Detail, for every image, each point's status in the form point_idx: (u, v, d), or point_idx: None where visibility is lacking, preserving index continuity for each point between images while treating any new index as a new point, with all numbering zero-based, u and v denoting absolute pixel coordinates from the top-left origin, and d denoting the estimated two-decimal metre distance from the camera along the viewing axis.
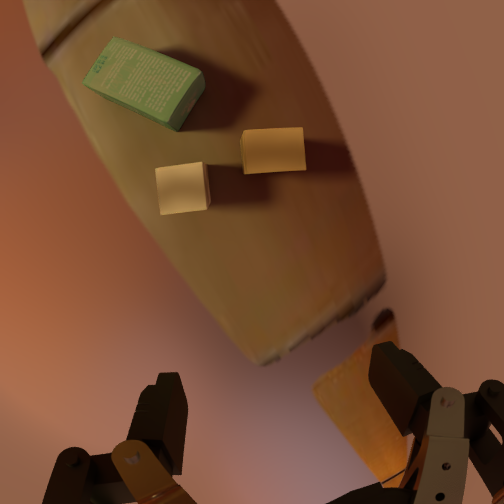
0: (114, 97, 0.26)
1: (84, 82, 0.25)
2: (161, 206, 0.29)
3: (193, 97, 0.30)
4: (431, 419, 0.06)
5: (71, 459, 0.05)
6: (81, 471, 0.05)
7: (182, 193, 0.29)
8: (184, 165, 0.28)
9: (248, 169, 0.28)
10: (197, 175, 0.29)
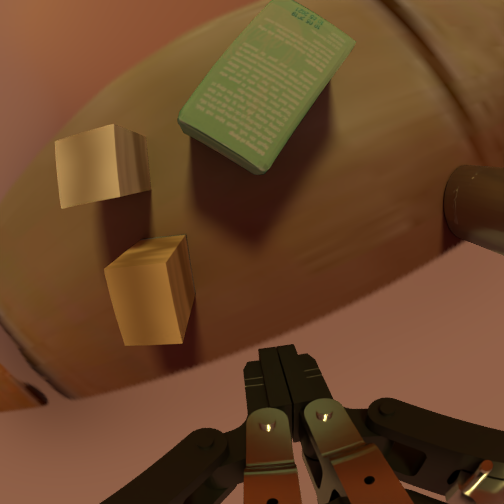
0: (239, 36, 0.16)
1: None
2: (64, 141, 0.16)
3: (228, 157, 0.21)
4: (318, 439, 0.06)
5: (205, 441, 0.06)
6: (219, 451, 0.06)
7: (78, 170, 0.17)
8: (115, 169, 0.17)
9: (109, 270, 0.18)
10: (101, 191, 0.17)
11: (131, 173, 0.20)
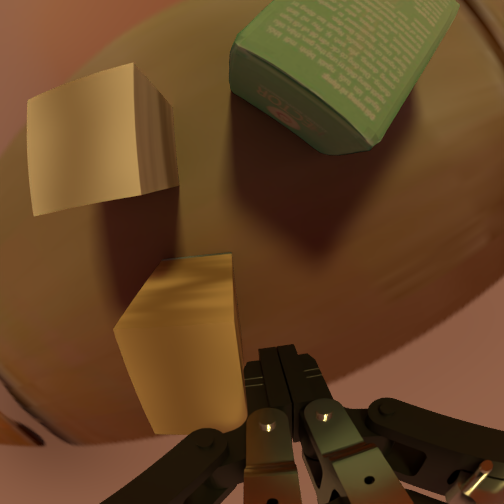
0: None
1: None
2: (42, 97, 0.08)
3: (302, 121, 0.13)
4: (318, 439, 0.06)
5: (205, 441, 0.06)
6: (219, 451, 0.06)
7: (62, 146, 0.09)
8: (132, 143, 0.09)
9: (124, 330, 0.10)
10: (105, 184, 0.09)
11: (156, 155, 0.12)
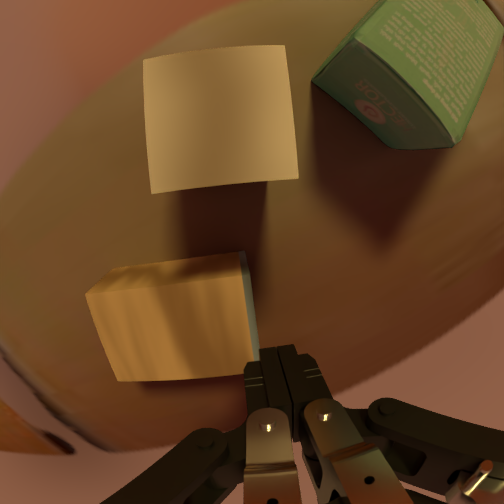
0: None
1: None
2: (167, 59, 0.08)
3: (392, 117, 0.13)
4: (318, 439, 0.06)
5: (205, 441, 0.06)
6: (219, 451, 0.06)
7: (200, 117, 0.09)
8: (290, 125, 0.09)
9: None
10: (258, 164, 0.09)
11: None
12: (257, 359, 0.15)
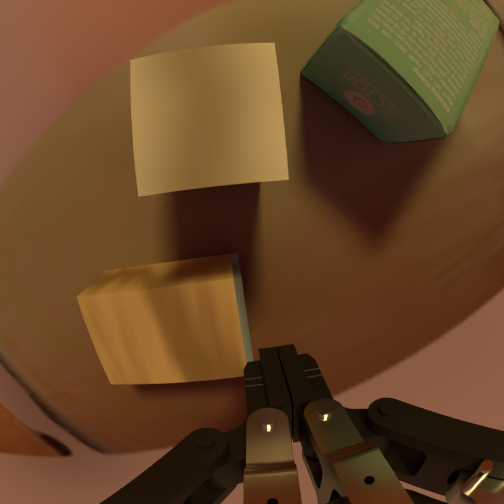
0: None
1: None
2: (155, 59, 0.08)
3: (382, 107, 0.12)
4: (318, 439, 0.06)
5: (205, 441, 0.06)
6: (219, 451, 0.06)
7: (187, 117, 0.08)
8: (279, 125, 0.09)
9: None
10: (246, 165, 0.09)
11: None
12: None
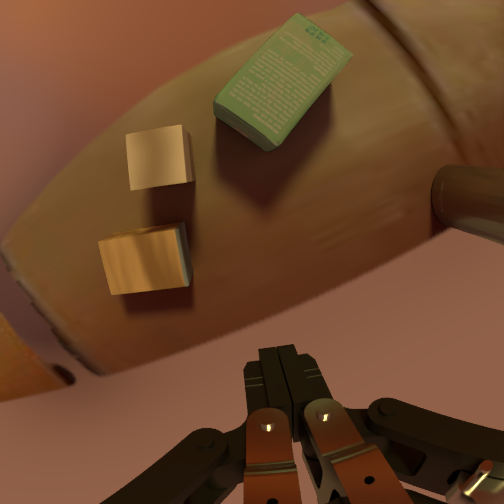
0: (264, 44, 0.21)
1: (297, 15, 0.20)
2: (135, 134, 0.22)
3: (248, 135, 0.26)
4: (318, 439, 0.06)
5: (205, 441, 0.06)
6: (219, 451, 0.06)
7: (148, 159, 0.22)
8: (182, 160, 0.23)
9: (111, 235, 0.31)
10: (170, 177, 0.23)
11: (188, 165, 0.26)
12: (185, 278, 0.29)
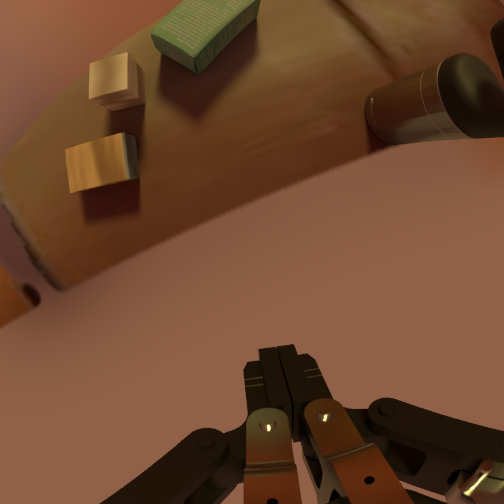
0: None
1: None
2: (96, 62, 0.25)
3: (177, 57, 0.29)
4: (318, 439, 0.06)
5: (205, 441, 0.06)
6: (220, 451, 0.06)
7: (103, 77, 0.25)
8: (126, 74, 0.26)
9: None
10: (116, 86, 0.26)
11: (134, 83, 0.29)
12: (127, 171, 0.32)
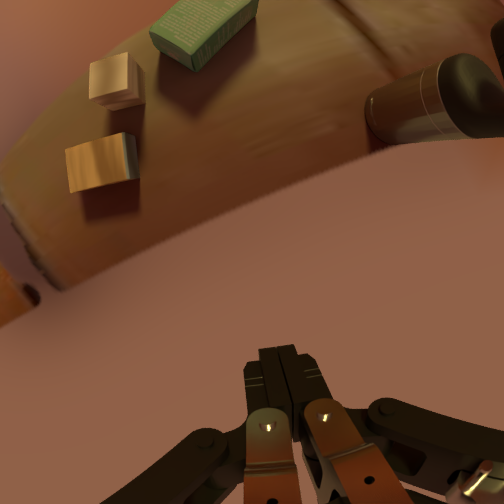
0: None
1: None
2: (96, 62, 0.25)
3: (175, 54, 0.29)
4: (318, 439, 0.06)
5: (205, 441, 0.06)
6: (219, 451, 0.06)
7: (103, 77, 0.25)
8: (126, 74, 0.26)
9: None
10: (116, 86, 0.26)
11: (134, 83, 0.29)
12: (127, 171, 0.32)
